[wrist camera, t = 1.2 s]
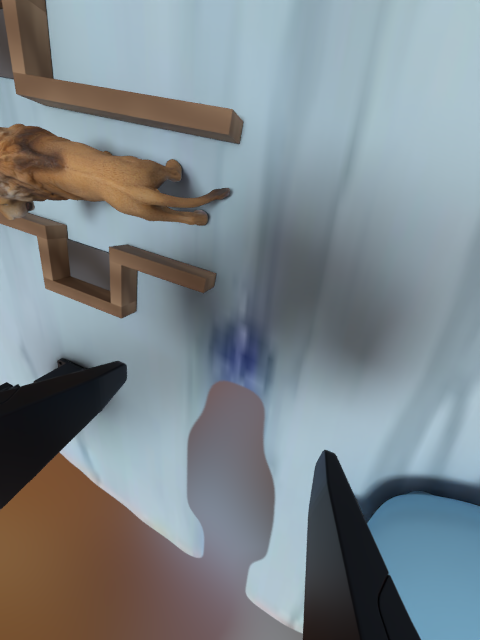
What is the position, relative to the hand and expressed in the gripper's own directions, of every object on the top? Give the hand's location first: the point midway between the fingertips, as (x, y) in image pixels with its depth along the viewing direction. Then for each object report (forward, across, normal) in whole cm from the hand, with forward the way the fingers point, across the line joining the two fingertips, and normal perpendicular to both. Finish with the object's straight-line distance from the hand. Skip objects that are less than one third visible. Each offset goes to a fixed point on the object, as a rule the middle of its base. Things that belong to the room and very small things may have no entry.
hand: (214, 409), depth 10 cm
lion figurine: (+12, +13, -7) cm, 18 cm away
